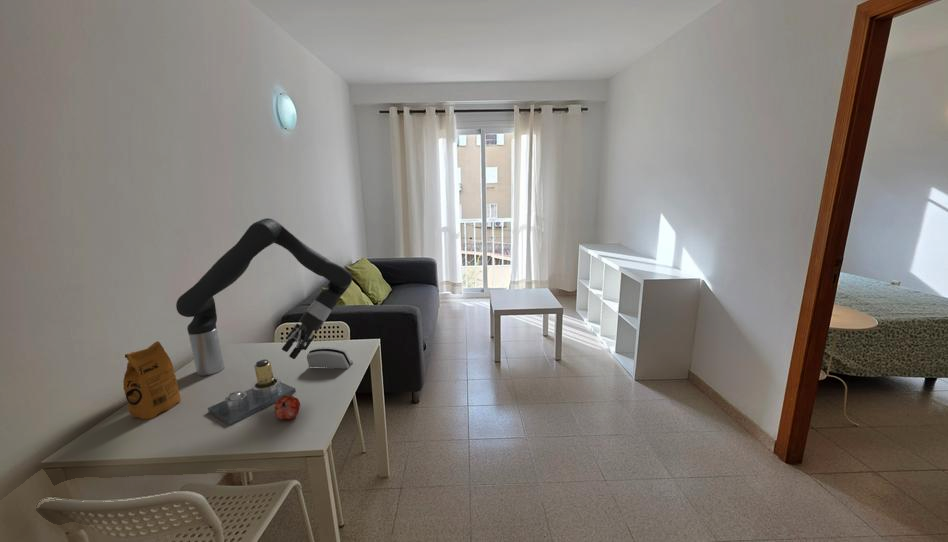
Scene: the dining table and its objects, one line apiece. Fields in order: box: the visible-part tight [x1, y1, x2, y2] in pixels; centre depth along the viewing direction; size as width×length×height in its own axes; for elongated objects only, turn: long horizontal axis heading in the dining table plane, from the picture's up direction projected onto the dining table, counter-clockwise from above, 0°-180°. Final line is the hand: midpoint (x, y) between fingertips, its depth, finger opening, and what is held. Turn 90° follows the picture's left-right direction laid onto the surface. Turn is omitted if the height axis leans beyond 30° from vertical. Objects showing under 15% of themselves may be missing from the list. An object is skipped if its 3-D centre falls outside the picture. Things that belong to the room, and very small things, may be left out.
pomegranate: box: [274, 394, 301, 420], centre depth 121 cm, size 7×7×10 cm
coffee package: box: [122, 341, 181, 420], centre depth 127 cm, size 10×12×22 cm
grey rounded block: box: [306, 346, 354, 369], centre depth 154 cm, size 17×5×10 cm, turn 84°
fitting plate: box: [207, 376, 297, 426], centre depth 131 cm, size 14×22×6 cm, turn 147°
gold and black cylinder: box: [254, 359, 275, 388], centre depth 134 cm, size 5×5×11 cm
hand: (287, 354), depth 138 cm, fingers open, 8 cm apart
